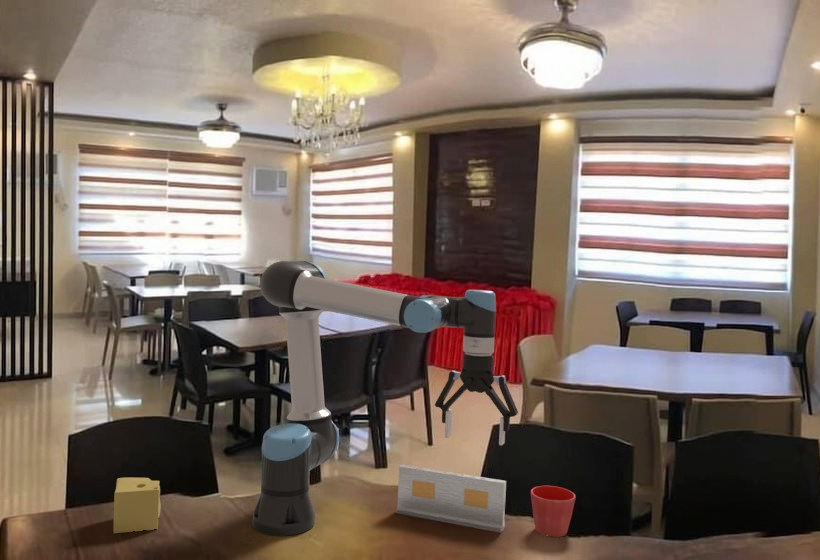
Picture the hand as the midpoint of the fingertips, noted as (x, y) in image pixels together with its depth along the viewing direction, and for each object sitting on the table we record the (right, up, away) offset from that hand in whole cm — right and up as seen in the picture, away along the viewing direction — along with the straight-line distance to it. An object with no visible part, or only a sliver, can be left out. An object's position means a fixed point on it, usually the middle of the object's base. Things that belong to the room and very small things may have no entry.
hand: (474, 440), depth 165 cm
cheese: (-81, -20, -3) cm, 84 cm away
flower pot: (+19, -24, +3) cm, 31 cm away
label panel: (-6, -22, +8) cm, 24 cm away
